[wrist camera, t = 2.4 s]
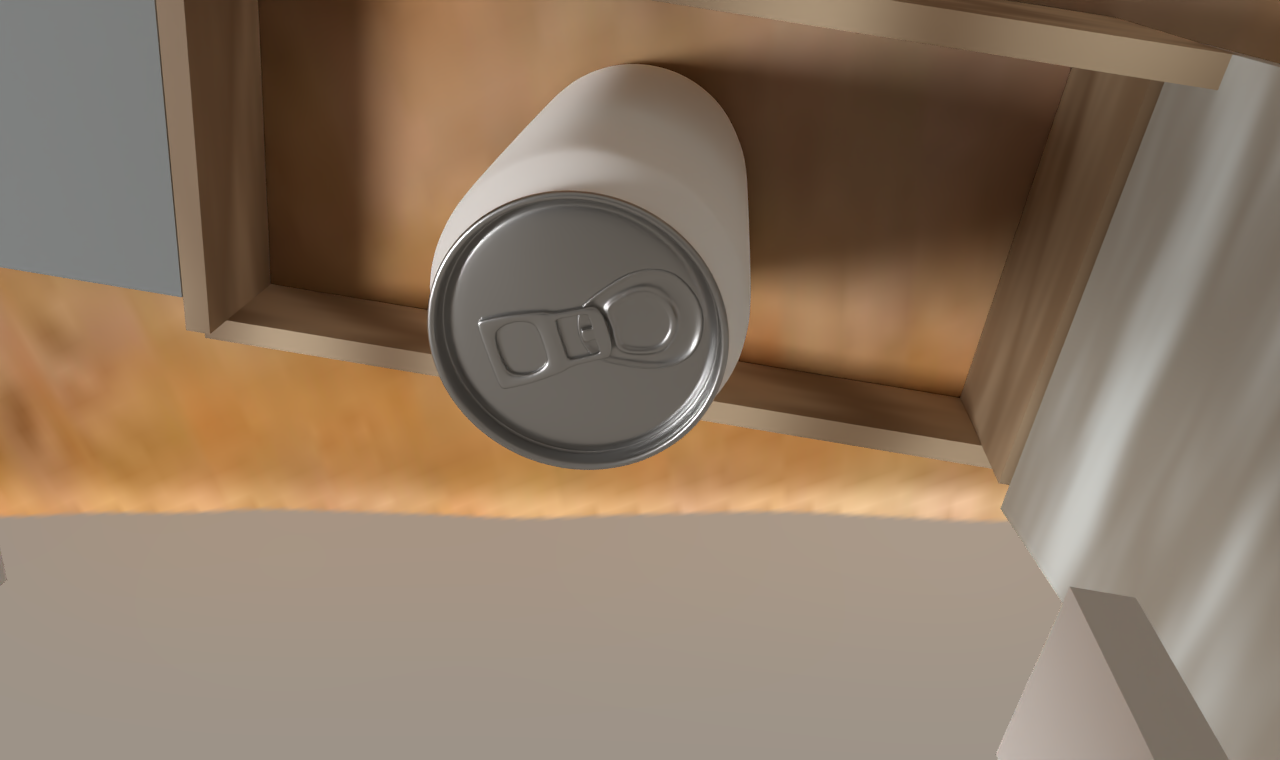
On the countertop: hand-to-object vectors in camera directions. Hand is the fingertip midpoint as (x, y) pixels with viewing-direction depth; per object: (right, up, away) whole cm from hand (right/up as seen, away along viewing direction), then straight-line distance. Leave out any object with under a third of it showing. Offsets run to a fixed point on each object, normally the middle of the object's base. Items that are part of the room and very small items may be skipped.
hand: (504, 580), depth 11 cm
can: (+2, +9, +17) cm, 19 cm away
